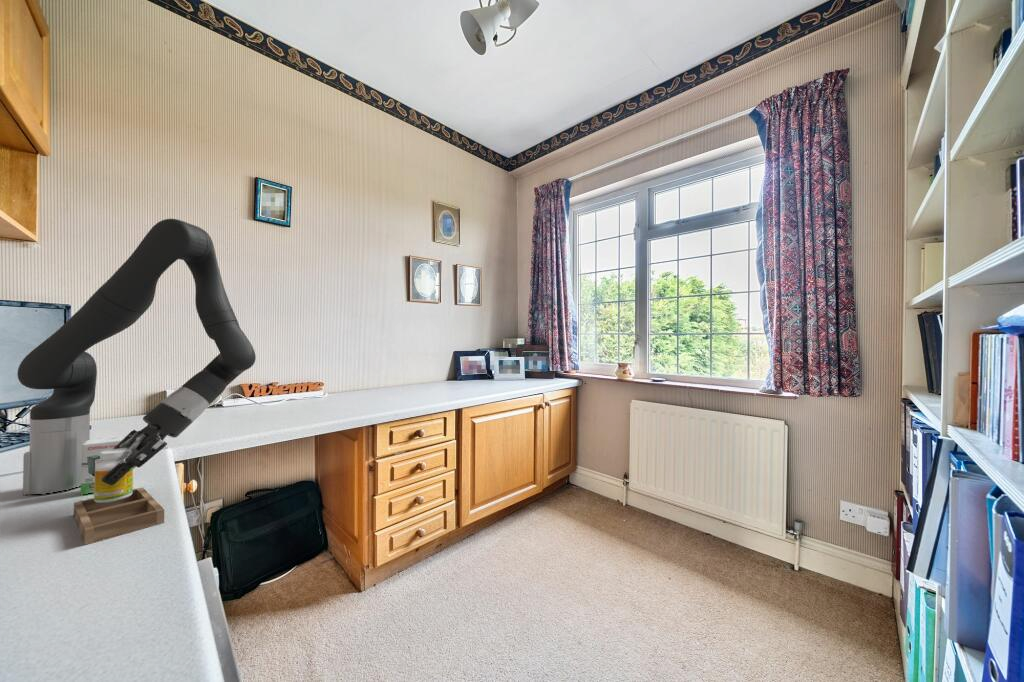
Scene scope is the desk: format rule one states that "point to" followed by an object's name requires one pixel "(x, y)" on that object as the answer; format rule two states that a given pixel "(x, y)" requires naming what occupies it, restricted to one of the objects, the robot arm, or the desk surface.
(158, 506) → the organizer
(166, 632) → the desk surface
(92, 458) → the ink box
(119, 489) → the supplement bottle
